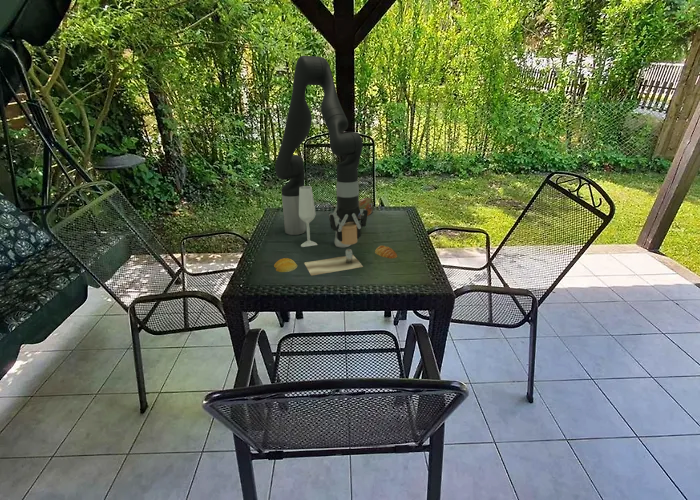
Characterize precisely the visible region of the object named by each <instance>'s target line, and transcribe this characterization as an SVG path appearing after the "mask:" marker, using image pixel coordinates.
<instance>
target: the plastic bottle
mask: <svg viewBox="0 0 700 500" xmlns="http://www.w3.org/2000/svg"><path fill="white" fill-rule="evenodd" d="M336 211H337V206H336V207H335V209H334V210H333V213H335V212H336ZM338 220H339V217H338V216H336V219H335V225H336V226H337V224H338ZM334 232H335V236H334V245H335V247H337V248H342V249H343V248H348V247H350V246H351V245H346V244H342V243H341V241H339V240H338V239H337V231H334Z"/></svg>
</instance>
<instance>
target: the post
mask: <svg viewBox="0 0 700 500" xmlns="http://www.w3.org/2000/svg"><path fill="white" fill-rule="evenodd" d="M352 255H353V250H352V249H350V248H346V249H345V256H346V263H348V264H350V263H352Z"/></svg>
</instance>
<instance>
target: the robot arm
mask: <svg viewBox="0 0 700 500" xmlns="http://www.w3.org/2000/svg"><path fill="white" fill-rule="evenodd" d="M293 74H294V75H293V76H294V77H293V84H292V92H291V98H290V102H289V107H288V111H287V112H288V113H287V116H286V121H285V126H284V132H283V136H282V139H281V144H280V147H279V151H278V153H277V157H276V159H275V164H274V165H275V166H274V168H275V169H274V170H275V175H276V177H277V178H278V179H280V180H283V181H284V180H288V182H287V183H286V184H285V185H283V186H282V187H281V189H280V190H281V201H282V203H281V204H282V212H283V224H284V226H283V227H284V233H285V234H287V235H289V236H290V235H291V236H297V235H303V234H304V233H307V227H306V222H304V221H303V220H301V218H300V217H299V188H300V187H302V186H305V165H304V161H303V159H302V157H301V156H300V155H298V154H294V153H295V152H296V151H297V150H298V148H299V147H300V146H301V145H302V144H303V143H304V141H305V140H306V138H308V135H309V133H310V129H311V125H312V121H313V116H312V112H311V110H310V107H309V105H308V103H307V99H306V90H307V86H320V87H321V89H322V90H323V98H322V101H321V107H320V110H321V111H320V112H321V116H322V118H323V120H324V123H325V126H326V128H327V130H328V131H327V133H328V137H329V148H330V150H331V152H332V153H333V154H334V155H335V156H337V157H344V156H347V157H346V158H345V160H343V161H341V162H339V163H337V164H336V185H335V186H336V207H337V211H336V212H335V213H334V212H332V213H331V212H329V213H328V221H329V223H330V228H331V230H332V231H333V232H336V231H337V239H338V240H339V241H342V232H341V230H342V226H344V224H345V223H348V222H354V223H355V224H357V240H359V239H360V238H361V236H362V235H361V234H362V231H361V230H362V229H361V228H363V227H366V226H367V219H368V216H367V214H368V211H367V210H366V209H364V208H363V209H359V201H360V197H359V195H360V194H359V193H360V190H359V189H360V187H359V180H358V179H359V177H358V176H359V174H358V173H359V172H358V168H359V163H360V160H361V155H362V152H363V147H364V146H363V144H364V143H363V142H364V141H363V138H362V137H361V135H360V134H359V133H358V132H355V131H354V132H353V131H352V132H351V131H350V132H345V131H346V130H347V129H348V127H349V121H348V118H347V117H346V114H345V112H344V110H343V108H342V105H341V102H340V100H339V97H338V91H337V90H336V89H337V88H336V84H335V81H334V77H333V73H332V70H331V67H330V64H329V62H328V60H327V58H325V57H323V56H317V55H314V56H313V55H300V56H299V58H297V60H296V63H295V67H294V73H293ZM359 213H360V214H361V219H360V221H359V219H357V216H358V215H359ZM336 216H338V217H339V220H338V224H337V226H336V225H335V219H336Z"/></svg>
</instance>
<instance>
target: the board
mask: <svg viewBox="0 0 700 500" xmlns="http://www.w3.org/2000/svg"><path fill="white" fill-rule="evenodd" d="M303 264H304V265H305V267H306V269H307V271H308V272H309V274H310V276H317V275H323V274H329V273H330V274H331V273H334V272H336V273H337V272H340V271H341V272H342V271H346V270H347V271H348V270H353V269H359V268H364V266H363V265H362V263H361V262H360V260H359V259H357V258H356V256H355V255H354V254H352V263H350V264H348V263H346V255H344V256H337V257H336V256H335V257H331V258H325V259H318V260H313V261H306V262H303Z"/></svg>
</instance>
